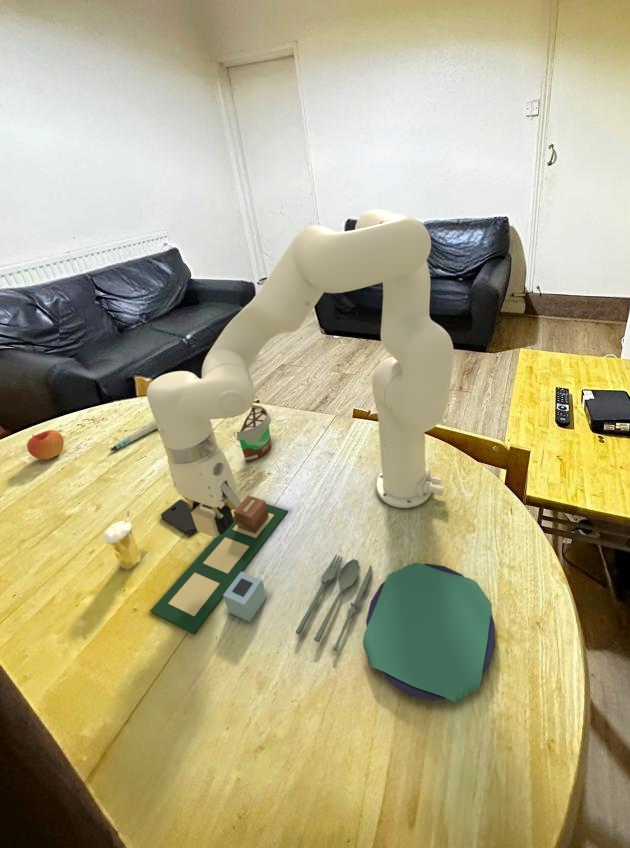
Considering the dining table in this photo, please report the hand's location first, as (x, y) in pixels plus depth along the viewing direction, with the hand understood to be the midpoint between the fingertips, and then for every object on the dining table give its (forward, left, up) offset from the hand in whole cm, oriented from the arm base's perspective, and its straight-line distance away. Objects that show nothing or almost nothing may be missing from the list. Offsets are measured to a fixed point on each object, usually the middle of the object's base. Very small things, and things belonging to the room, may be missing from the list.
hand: (215, 523), depth 75 cm
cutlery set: (-35, -1, -9) cm, 36 cm away
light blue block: (-10, +6, -9) cm, 15 cm away
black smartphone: (+15, -4, -9) cm, 18 cm away
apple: (+66, -7, -9) cm, 67 cm away
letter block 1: (0, 0, 0) cm, 0 cm away
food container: (+13, -28, -9) cm, 32 cm away
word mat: (0, 0, -9) cm, 9 cm away
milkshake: (+17, +7, -9) cm, 20 cm away
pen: (+49, -23, -9) cm, 55 cm away
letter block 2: (0, -8, -9) cm, 12 cm away
